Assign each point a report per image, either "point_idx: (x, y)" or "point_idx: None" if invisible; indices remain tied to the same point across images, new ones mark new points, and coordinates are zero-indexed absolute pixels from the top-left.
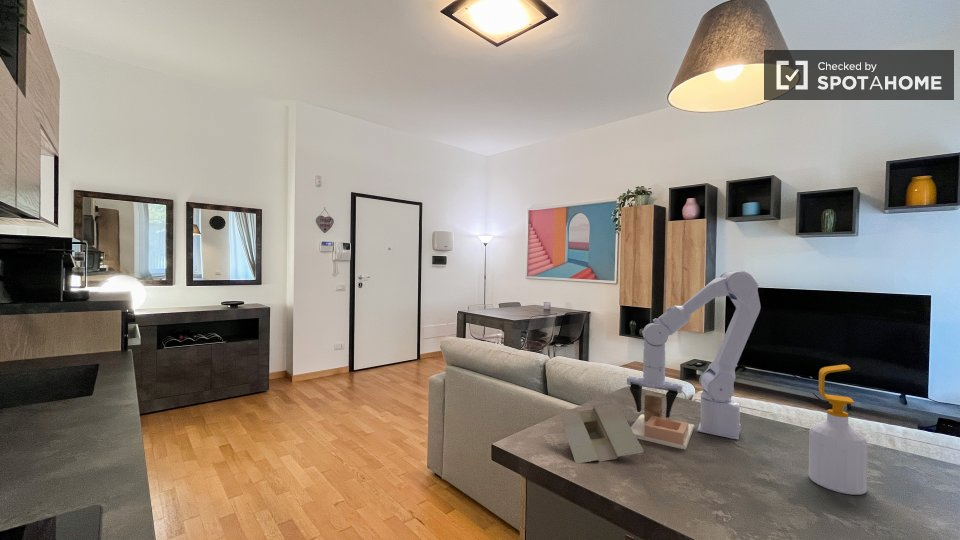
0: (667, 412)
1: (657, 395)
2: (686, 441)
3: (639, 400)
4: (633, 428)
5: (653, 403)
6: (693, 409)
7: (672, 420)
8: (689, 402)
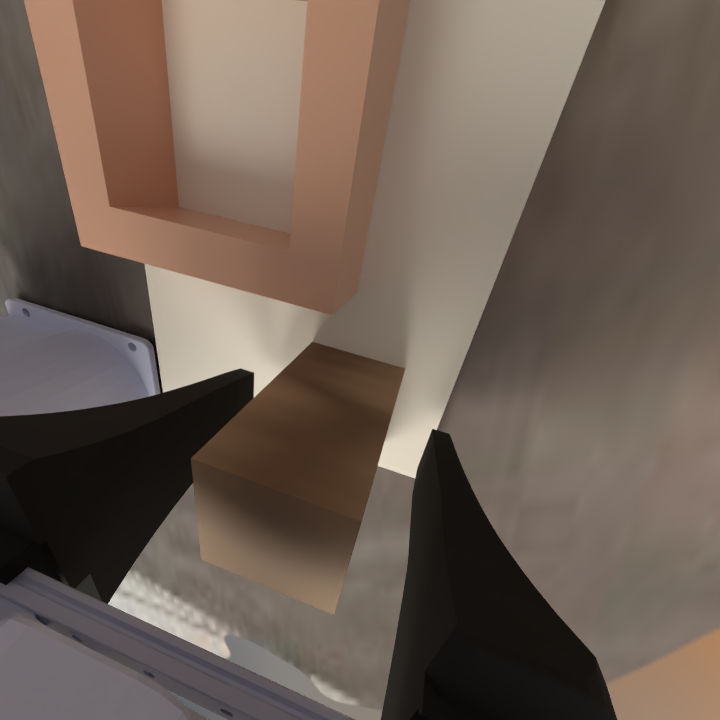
0: (218, 380)
1: (238, 556)
2: None
3: (428, 517)
4: (513, 144)
5: (289, 437)
6: (220, 570)
7: (175, 249)
8: (241, 620)
